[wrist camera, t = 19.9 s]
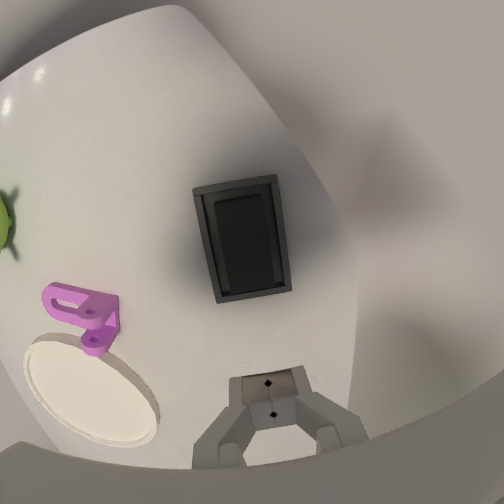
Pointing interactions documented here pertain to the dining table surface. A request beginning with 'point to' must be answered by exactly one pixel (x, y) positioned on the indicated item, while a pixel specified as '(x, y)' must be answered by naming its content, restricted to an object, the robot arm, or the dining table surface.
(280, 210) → the base tray
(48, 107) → the dining table surface
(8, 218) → the teapot
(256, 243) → the black rectangular block
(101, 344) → the bracket
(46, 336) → the plate
